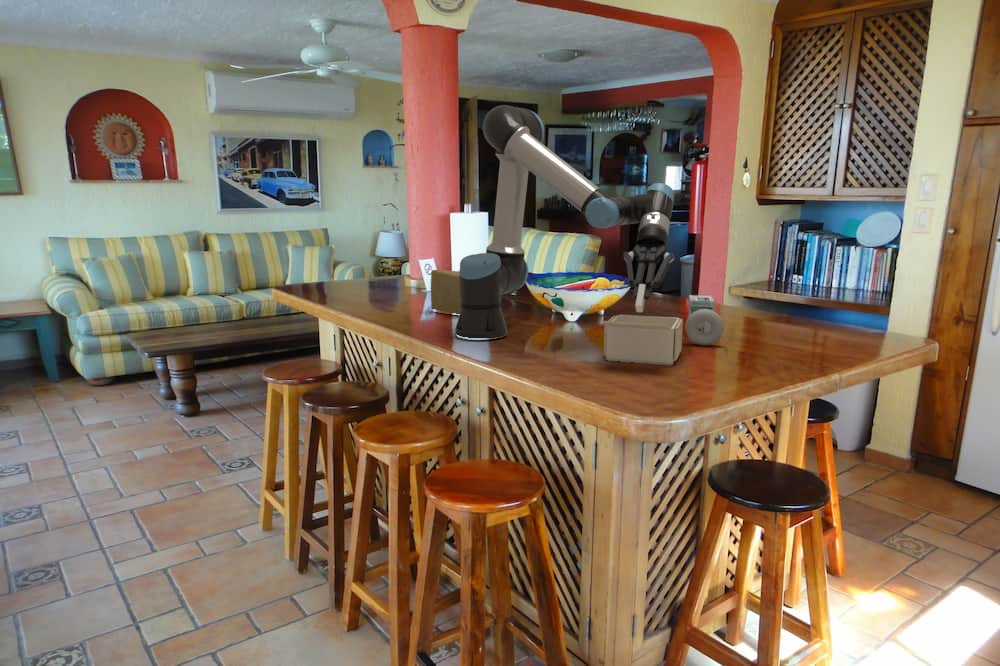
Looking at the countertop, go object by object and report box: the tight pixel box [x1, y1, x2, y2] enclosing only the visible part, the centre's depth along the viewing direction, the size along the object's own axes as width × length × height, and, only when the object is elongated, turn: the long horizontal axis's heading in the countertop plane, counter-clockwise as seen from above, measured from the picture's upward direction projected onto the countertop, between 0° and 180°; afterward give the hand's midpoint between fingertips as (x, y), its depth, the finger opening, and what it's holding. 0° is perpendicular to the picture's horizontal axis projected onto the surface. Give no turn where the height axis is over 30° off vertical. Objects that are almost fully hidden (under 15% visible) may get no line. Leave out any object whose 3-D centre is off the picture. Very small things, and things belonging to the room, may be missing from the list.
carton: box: [603, 314, 684, 366], centre depth 174 cm, size 18×15×9 cm
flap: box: [601, 320, 671, 330], centre depth 162 cm, size 15×1×8 cm
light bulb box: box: [687, 294, 716, 333], centre depth 198 cm, size 11×7×11 cm, turn 168°
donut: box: [685, 309, 725, 347], centre depth 184 cm, size 10×4×10 cm, turn 71°
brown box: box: [430, 269, 461, 314], centre depth 233 cm, size 22×10×15 cm, turn 55°
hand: (639, 308), depth 166 cm, fingers closed
